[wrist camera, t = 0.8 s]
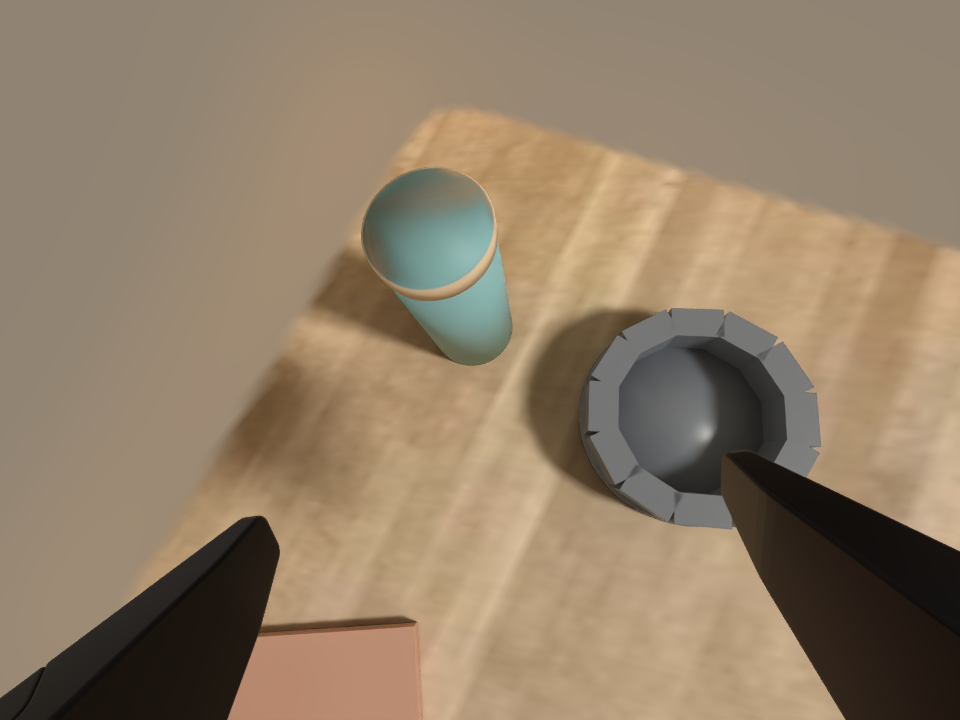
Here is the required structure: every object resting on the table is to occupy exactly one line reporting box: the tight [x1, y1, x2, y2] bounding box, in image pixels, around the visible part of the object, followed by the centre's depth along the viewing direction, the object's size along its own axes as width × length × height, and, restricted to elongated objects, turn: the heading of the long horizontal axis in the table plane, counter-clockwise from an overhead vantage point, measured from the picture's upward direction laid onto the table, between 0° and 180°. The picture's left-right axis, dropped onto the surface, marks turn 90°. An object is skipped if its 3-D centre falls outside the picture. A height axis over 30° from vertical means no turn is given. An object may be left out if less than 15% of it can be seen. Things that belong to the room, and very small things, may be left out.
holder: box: [579, 308, 821, 529], centre depth 20 cm, size 9×9×3 cm
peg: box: [361, 167, 512, 366], centre depth 19 cm, size 4×4×10 cm
